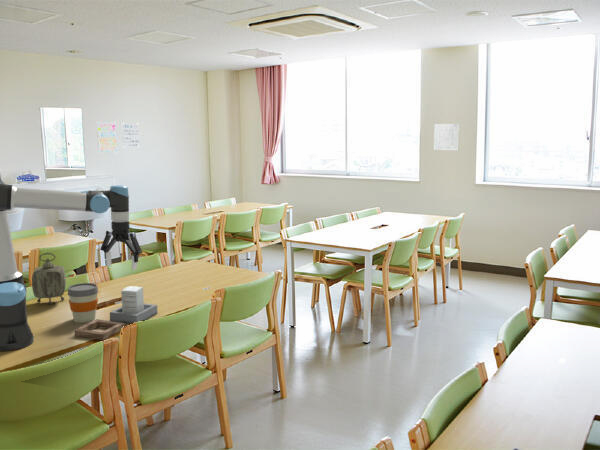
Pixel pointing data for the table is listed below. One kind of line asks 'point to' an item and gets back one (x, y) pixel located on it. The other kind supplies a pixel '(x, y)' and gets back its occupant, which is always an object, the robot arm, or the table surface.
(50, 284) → the tabletop clock
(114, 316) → the grey tray
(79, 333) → the walnut collar
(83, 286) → the reusable coffee cup
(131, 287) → the supplement box
